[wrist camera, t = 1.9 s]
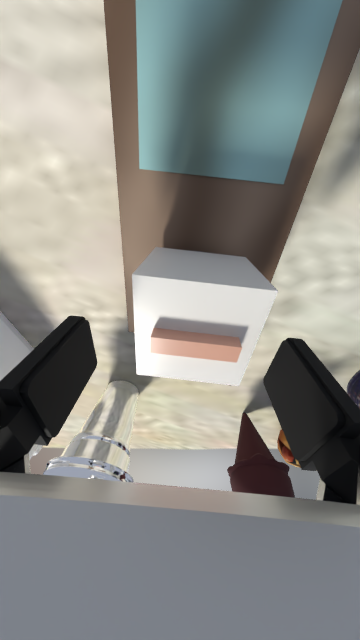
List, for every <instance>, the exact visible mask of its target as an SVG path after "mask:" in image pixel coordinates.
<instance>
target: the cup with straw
mask: <svg viewBox="0 0 360 640" xmlns="http://www.w3.org/2000/svg"><path fill="white" fill-rule="evenodd" d="M138 395H139V391H138V389H137V387H136V386H135V385H133V384H132V383H130V382H127V381H123V380H115V381H112V382H110V383H109V384H108V387H107V389H106V390H105V391H104V392H103V394H102V395H101V397H100V398H99V400H98V402H97V403H96V405H95V406H94V408H93V410H92V411H91V413H90V414H89V416H88V418H87V419H86V421H85V422H84V424H83V425H82V427H81V429H80V430H79V432H78V433H77V435H75V436H74V438H73V439H72V441H71V442H70V443H69V444H68V445H67V447H66V448H65V450H64V452H63V453H62V455H61V456H60V457H57V458H53V459H52V460H50V461H49V462H48V463H47V466H46V469H45V471H44V473H43V475H54V476H65V477H77V478H88V479H100V480H111V481H122V482H133V478H132V476H131V475H130V474H129V473H128V467H129V462H130V458H129V457H130V443H131V437H132V431H133V425H134V420H135V414H136V408H137V401H138V400H137V397H138Z"/></svg>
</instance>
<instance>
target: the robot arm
mask: <svg viewBox="0 0 360 640" xmlns="http://www.w3.org/2000/svg"><path fill="white" fill-rule="evenodd" d="M96 366H97V358H96V354H95V349H94V344H93V339H92V335H91V330H90V325H89V322H88V321H87V320H85V318H84V317H80V316H69V317H68V318H67V319H66V320H64V321H63V322H62V323H61V324H60V325H59V326H58V327H57V328H56V329H55V330H54V331H53V332H52V333H51V334H50V335H49V336H47V337H46V338H45V339H44V340H43V341H42V342H41V343H40V344H39V345H38V346H37V347H36V348H35V349H34V350H33V351H31V352H30V353H29V354H28V355H27V356H26V357H25V358H24V359H23V360H22V361H21V362H20V363H19V364H18V365H17V366H16V367H14V368H13V369H12V370H11V371H10V372H9V373H8V374H7V375H6V376H5V377H4V378H3V379H2V380H1V381H0V640H360V409H359V407H358V406H357V405H356V404H355V403H354V401H353V400H352V399H351V398H350V397H349V395H348V394H347V393H346V392H345V390H344V389H343V388H342V387H341V386H340V384H339V383H338V382H337V381H336V379H335V378H334V377H333V376H332V375H331V373H330V372H329V371H328V370H327V368H326V367H325V366H324V365H323V364H322V362H321V361H320V360H319V359H318V358H317V356H316V355H315V354H314V353H313V351H312V350H311V349H310V348H309V347H308V345H307V344H306V343H305V342H304V341H303V340H302V339H296V338H287V339H286V340H285V341H283V342H282V343H281V345H280V347H279V349H278V351H277V353H276V355H275V357H274V359H273V361H272V363H271V365H270V367H269V369H268V371H267V373H266V375H265V377H264V385H265V388H266V390H267V393H268V395H269V398H270V400H271V403H272V405H273V408H274V410H275V413H276V415H277V417H278V420H279V422H280V425H281V427H282V430H283V432H284V435H285V437H286V440H287V442H288V445H289V447H290V449H291V452H292V454H293V456H294V458H295V459H296V460H297V461H298V462H299V464H300V466H301V468H302V470H310V471H316V470H317V471H318V473H319V475H320V481H319V486H318V491H317V496H316V500H313V499H302V498H292V497H282V496H272V495H262V494H251V493H241V492H230V491H220V490H209V489H199V488H188V487H177V486H166V485H155V484H145V483H134V482H122V481H111V480H100V479H88V478H77V477H65V476H54V475H39V474H31V472H30V461H29V451H30V450H31V448H32V447H33V445H34V444H35V445H46V446H48V444H49V442H50V440H51V439H52V437H56V436H57V435H58V433H59V431H60V430H61V428H62V426H63V424H64V423H65V421H66V419H67V417H68V416H69V414H70V412H71V410H72V409H73V407H74V405H75V403H76V402H77V400H78V398H79V396H80V395H81V393H82V391H83V389H84V388H85V386H86V384H87V382H88V381H89V379H90V377H91V375H92V374H93V372H94V370H95V368H96Z"/></svg>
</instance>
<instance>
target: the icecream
mask: <svg viewBox="0 0 360 640" xmlns="http://www.w3.org/2000/svg"><path fill="white" fill-rule="evenodd" d="M227 471H228V473H229V476H230V483H231V487H232V492H241V493H251V494H262V495H272V496H282V497H292V498H295V496H294V492H293V488H292V484H291V480H290V478H289V476H288V471H289V466H288V465H286V464H285V463H282V462H277V461H276V460H275V459H274V457H273V456H272V454H271V453H270V451H269V449H268V448H267V446H266V444H265V443H264V441H263V440H262V438H261V436H260V435H259V433H258V432H257V430H256V428H255V427H254V425H253V423H252V422H251V420H250V418H249V417H248V415H247V414H246V413H243V414H242V420H241V426H240V433H239V439H238V446H237V453H236V459H235V464H234V465H233V466H230V467H229V468H228V469H227Z"/></svg>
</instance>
